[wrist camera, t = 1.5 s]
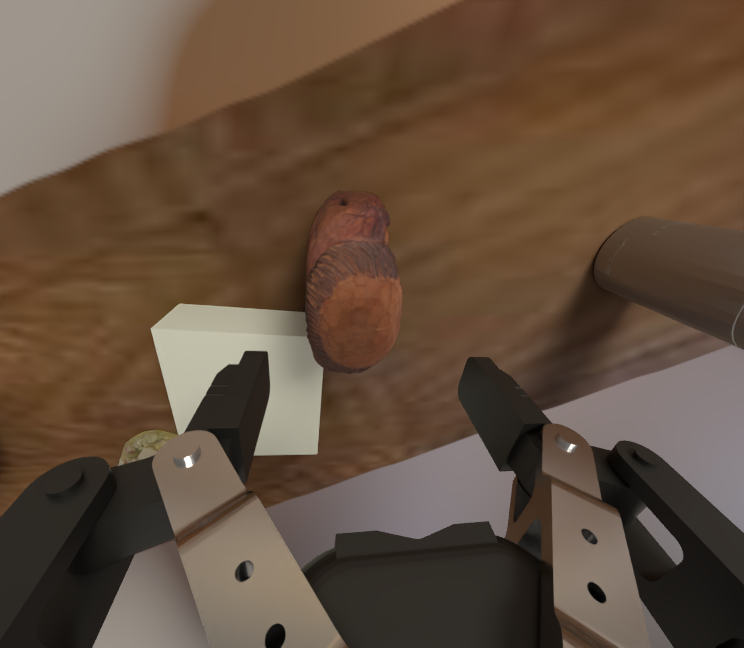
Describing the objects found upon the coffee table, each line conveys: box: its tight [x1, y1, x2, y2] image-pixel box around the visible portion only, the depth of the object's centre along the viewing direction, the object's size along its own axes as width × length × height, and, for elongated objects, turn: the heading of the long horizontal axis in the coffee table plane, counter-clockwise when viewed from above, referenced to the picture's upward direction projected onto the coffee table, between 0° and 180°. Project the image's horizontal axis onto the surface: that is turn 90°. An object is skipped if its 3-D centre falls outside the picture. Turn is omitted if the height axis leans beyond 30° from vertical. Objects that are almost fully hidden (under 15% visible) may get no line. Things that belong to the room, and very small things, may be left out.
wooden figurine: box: [305, 191, 402, 374], centre depth 22 cm, size 12×6×18 cm, turn 176°
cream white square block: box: [151, 304, 323, 455], centre depth 34 cm, size 16×18×6 cm
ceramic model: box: [118, 430, 178, 466], centre depth 38 cm, size 14×11×10 cm
